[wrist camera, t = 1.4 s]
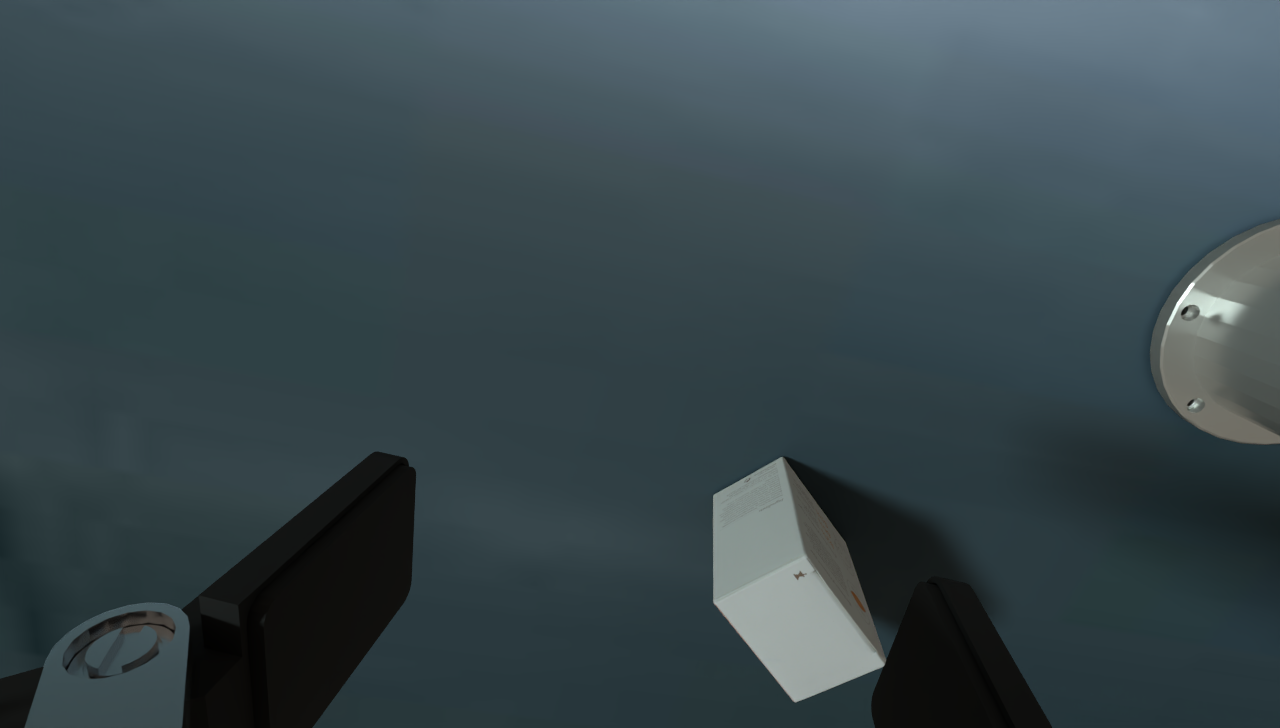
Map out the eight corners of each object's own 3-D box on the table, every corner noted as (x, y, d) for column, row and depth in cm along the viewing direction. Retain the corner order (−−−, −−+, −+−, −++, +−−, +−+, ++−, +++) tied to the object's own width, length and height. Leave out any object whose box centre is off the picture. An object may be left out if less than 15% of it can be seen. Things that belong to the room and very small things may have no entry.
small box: (711, 492, 40) (708, 601, 30) (783, 452, 38) (805, 553, 29) (776, 578, 42) (793, 708, 32) (848, 542, 40) (890, 668, 30)
